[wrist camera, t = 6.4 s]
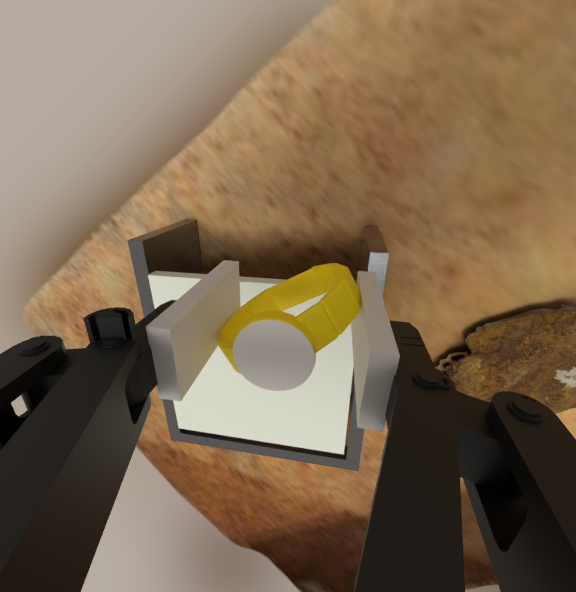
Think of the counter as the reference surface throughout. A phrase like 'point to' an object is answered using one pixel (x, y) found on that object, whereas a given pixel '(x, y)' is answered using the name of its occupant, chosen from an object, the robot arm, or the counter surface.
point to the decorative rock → (520, 358)
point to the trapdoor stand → (187, 259)
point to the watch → (289, 327)
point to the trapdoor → (260, 402)
